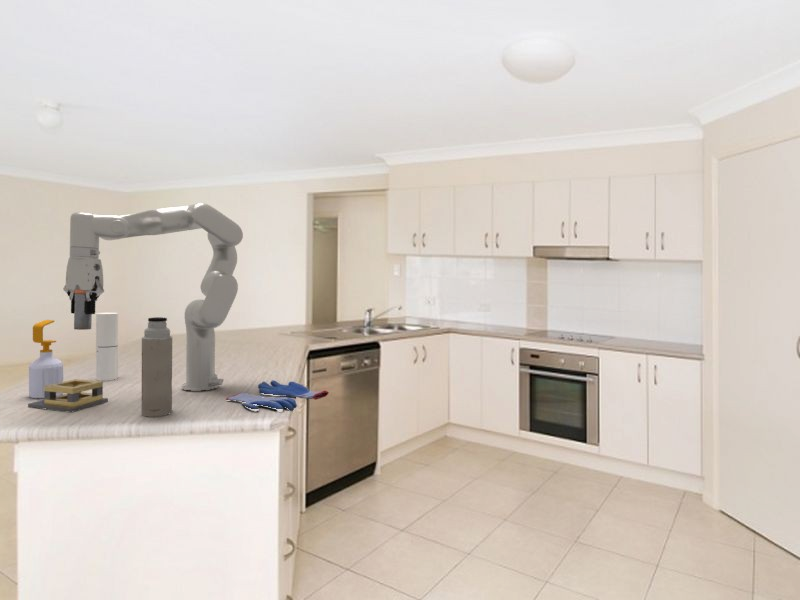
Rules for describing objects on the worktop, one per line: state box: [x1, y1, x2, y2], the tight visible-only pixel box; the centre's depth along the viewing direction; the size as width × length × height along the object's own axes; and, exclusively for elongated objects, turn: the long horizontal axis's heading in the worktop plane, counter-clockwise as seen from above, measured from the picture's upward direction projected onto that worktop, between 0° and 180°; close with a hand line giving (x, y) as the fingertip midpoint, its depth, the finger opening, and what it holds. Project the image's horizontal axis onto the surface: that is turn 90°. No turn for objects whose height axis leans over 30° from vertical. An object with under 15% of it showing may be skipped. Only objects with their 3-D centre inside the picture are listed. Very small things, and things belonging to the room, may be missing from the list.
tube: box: [73, 285, 93, 331], centre depth 152 cm, size 5×5×14 cm
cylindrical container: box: [95, 312, 119, 382], centre depth 188 cm, size 7×7×25 cm
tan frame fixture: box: [27, 378, 109, 413], centre depth 152 cm, size 16×13×6 cm
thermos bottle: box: [141, 316, 173, 418], centre depth 144 cm, size 8×8×28 cm
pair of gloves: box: [225, 380, 329, 411], centre depth 165 cm, size 32×26×4 cm
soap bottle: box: [28, 319, 64, 399], centre depth 161 cm, size 9×9×25 cm
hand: (83, 313), depth 152 cm, fingers closed on tube, 4 cm apart
